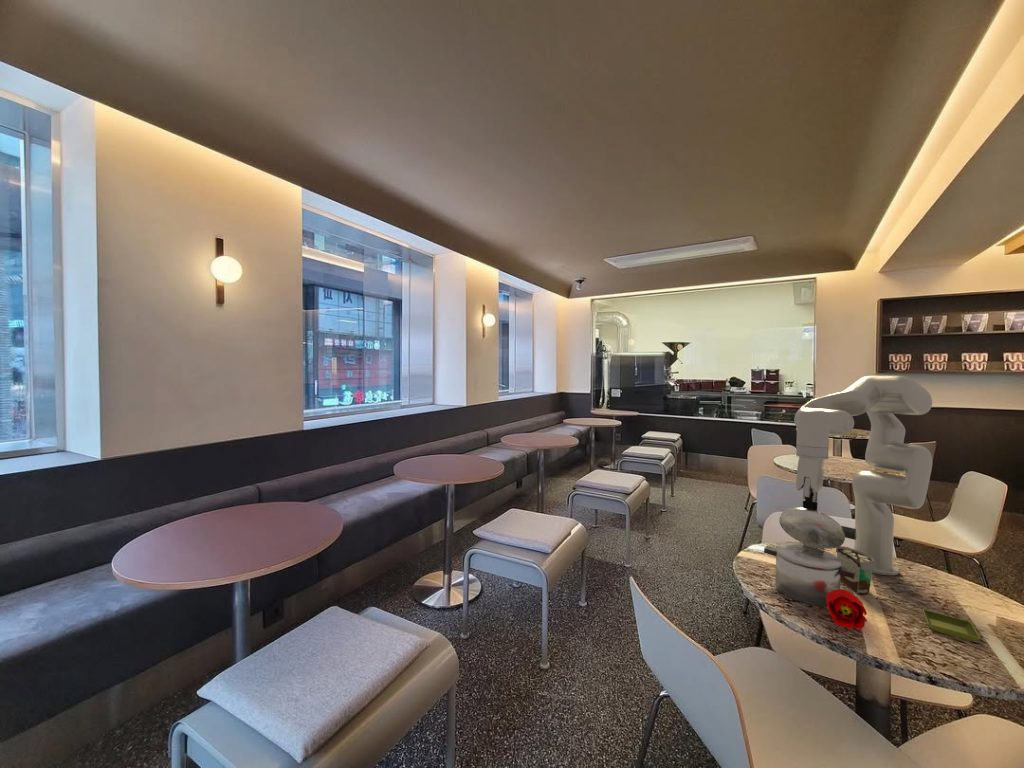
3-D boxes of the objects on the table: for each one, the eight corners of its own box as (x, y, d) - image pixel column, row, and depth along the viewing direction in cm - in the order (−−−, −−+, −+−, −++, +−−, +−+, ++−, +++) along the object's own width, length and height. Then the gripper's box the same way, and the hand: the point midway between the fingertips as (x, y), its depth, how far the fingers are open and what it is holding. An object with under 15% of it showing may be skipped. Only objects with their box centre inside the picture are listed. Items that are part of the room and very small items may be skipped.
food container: (886, 600, 112) (887, 565, 112) (860, 597, 113) (861, 562, 113) (857, 579, 124) (858, 547, 124) (835, 577, 125) (835, 545, 125)
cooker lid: (783, 540, 127) (785, 532, 129) (856, 559, 114) (858, 550, 116) (775, 505, 120) (778, 497, 122) (853, 521, 107) (854, 512, 109)
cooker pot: (772, 570, 129) (773, 536, 129) (857, 597, 113) (858, 558, 113) (756, 586, 118) (757, 549, 118) (849, 618, 103) (850, 576, 103)
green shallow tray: (921, 616, 105) (921, 608, 105) (971, 629, 100) (971, 621, 100) (927, 631, 99) (927, 623, 99) (980, 647, 93) (981, 638, 93)
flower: (868, 600, 102) (875, 613, 96) (851, 623, 104) (856, 638, 97) (833, 578, 106) (837, 590, 100) (817, 601, 108) (820, 614, 101)
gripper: (802, 448, 125) (800, 506, 125) (790, 452, 115) (787, 516, 115) (833, 451, 119) (830, 513, 119) (822, 456, 109) (820, 524, 109)
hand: (809, 514), depth 117 cm, fingers closed
